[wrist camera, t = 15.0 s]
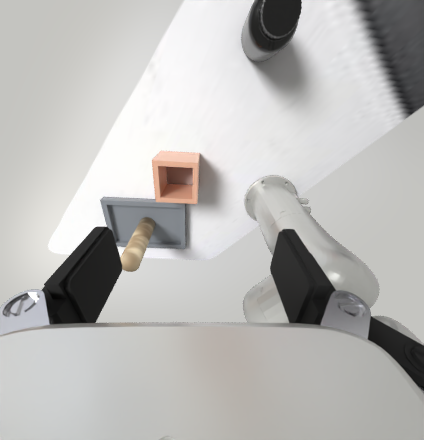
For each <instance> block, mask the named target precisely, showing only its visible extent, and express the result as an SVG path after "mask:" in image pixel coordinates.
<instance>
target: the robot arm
mask: <svg viewBox="0 0 424 440" xmlns="http://www.w3.org/2000/svg"><path fill="white" fill-rule="evenodd" d="M262 181H263V182H262ZM285 182H286V183H285ZM247 199H248V200H247ZM244 204H245V208H246V211H247V213H248V215H249V216H250V217H251V218H252V219H254V220H256V221H258V224H259V226H260V229H261V231H262V234H263V236H264V238H265V241H266V243H267V246H268V248H269V250H270V252H271V254H272V255H273V258H272V262H271V267H270V269H271V275H269V276H268V277H267V278H265V279H264V280H263V281H261V282H260V283H258V284H257V285H256V286H254V287H253V288H252V289H250V291H248V292H247V294H246V295H245V297H244V300H243V311H244V315H245V318H246V320H247V323H219V322H217V323H215V322H214V323H213V322H211V323H208V322H207V323H206V322H205V323H204V322H202V323H201V322H200V323H197V322H194V323H188V322H187V323H186V322H182V323H181V322H178V323H176V322H175V323H95V322H96V320H97V318H98V317H99V315H100V312H101V311H102V308H103V307H104V305H105V303H106V301H107V299H108V297H109V295H110V293H111V291H112V289H113V287H114V285H115V283H116V281H117V279H118V277H119V275H120V273H121V271H122V263H121V259H120V256H119V252H118V249H117V245H116V242H115V238H114V235H113V232H112V230H111V229H109V228H108V227H95V228H94V229H93V230H92V231H91V232H90V234H89V235H88V236H87V237H86V238H85V239H84V240H83V241H82V243H81V244H80V245H79V246H78V247H77V248H76V249H75V250H74V251H73V253H72V254H71V255H70V256H69V257H68V258H67V259H66V260H65V262H64V263H63V264H62V265H61V266H60V267H59V268H58V269H57V270H56V271H55V273H54V274H53V275H52V276H51V277H50V278H49V279H48V280H47V282H46V283H45V284H44V285H45V287H44V288H43V289H42V290H38V289H32V290H27V291H24V292H21V293H19V294H17V295H15V296H13V297H12V298H10V299H9V300H7V301H6V302H5V303H4V304H3V305H2V306H1V307H0V440H424V344H423V343H422V342H421V341H420V340H419V339H418V338H417V337H416V336H415V335H414V334H413V333H412V332H410V331H409V330H408V329H407V328H406V327H405V326H403V325H402V324H401V323H399V322H397V321H395V320H393V319H392V318H389V317H385V316H373V317H372V316H371V312H370V308H371V307H372V306H373V305H374V303H375V302H376V300H377V298H378V295H379V284H378V281H377V279H376V277H375V275H374V274H373V272H372V271H371V270H370V269H369V268H368V267H367V265H366V264H365V263H363V262H362V261H361V260H360V259H359V258H358V257H357V256H356V255H354V254H353V253H352V252H350V251H349V250H348V249H346V248H345V247H343V246H342V245H341V244H340V243H338V242H337V241H336V240H335V239H333V238H332V237H331V236H330V235H329V234H328V233H327V232H326V231H325V230H324V229H323V228H322V227H321V226H320V225H319V224H318V223H317V222H316V220H315V219H314V218H313V217H312V216H311V215H310V212H311V209H310V207H303V206H302V205H301V204H308V199H306V198H302V199H301V198H298V197H297V195H296V190H295V188H294V186H293V184H292V183H291V182H290V181H289V180H287V179H286V178H284V177H281V176H276V175H271V176H266V177H263V178H261V179H259V180H257V181H256V182H254V183H253V184H252V185H251V186H250V188H249V189H248V191H247V193H246V195H245V200H244Z"/></svg>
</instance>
